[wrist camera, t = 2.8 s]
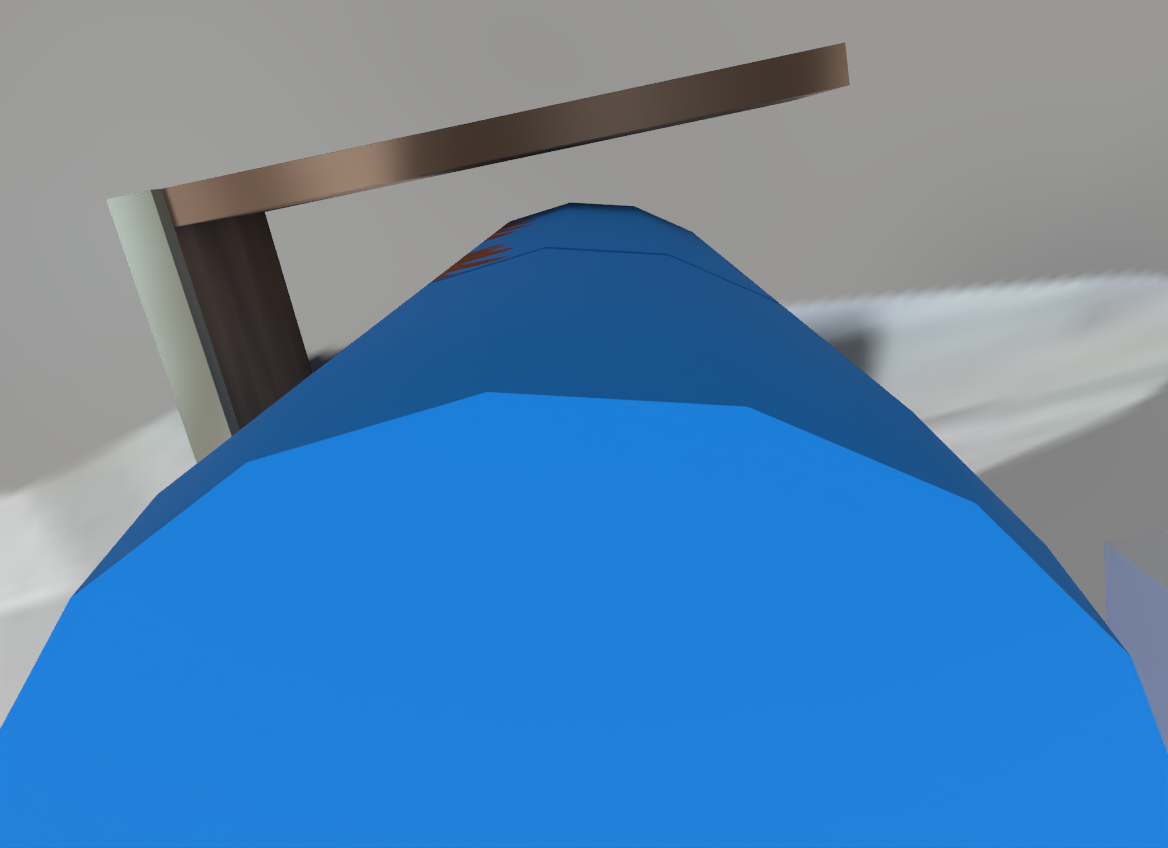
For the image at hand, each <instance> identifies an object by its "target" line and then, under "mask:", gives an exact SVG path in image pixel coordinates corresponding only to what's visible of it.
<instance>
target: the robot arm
mask: <svg viewBox="0 0 1168 848" xmlns="http://www.w3.org/2000/svg"><path fill="white" fill-rule="evenodd" d="M1104 553H1105V583H1106V584H1105V585H1106V613H1107V614H1106V615H1107V626H1108V627H1109V628H1110V630H1111V631H1112V632H1113V634H1114V635H1115V636H1116V638H1117V639H1118V640H1119V641H1120V643H1121V644H1122V645H1123V647H1124V648H1125V649H1126V651H1127V652H1128V653H1129V655H1130V656H1131V657H1132V659H1133V662H1134V665H1135V667H1136V670H1137V673H1138V675H1139V678H1140V681H1141V683H1142V686H1143V689H1144V691H1145V694H1146V697H1147V699H1148V702H1149V705H1150V707H1151V710H1152V713H1153V715H1154V718H1155V721H1156V723H1157V726H1158V729H1159V731H1160V734H1161V737H1162V739H1163V742H1164V745H1165V747H1166V750H1167V753H1168V530H1166V531H1160V532H1155V533H1149V534H1143V535H1138V536H1132V537H1127V538H1121V539H1115V540H1109V541H1104Z"/></svg>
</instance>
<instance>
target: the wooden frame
mask: <svg viewBox="0 0 1168 848" xmlns="http://www.w3.org/2000/svg"><path fill="white" fill-rule="evenodd" d="M847 85H849V75H848V66H847V57H846V47H845V43H841V44H836V45H832V46H827V47H823V48H818V49H813V50H809V51H804V52H799V53H794V54H790V55H785V56H780V57H776V58H771V59H766V60H762V61H757V62H752V63H748V64H743V65H738V66H734V67H729V68H725V69H720V70H715V71H710V72H706V73H701V74H697V75H692V76H687V77H682V78H678V79H673V80H669V81H664V82H659V83H654V84H650V85H645V86H641V87H636V88H631V89H627V90H622V91H617V92H613V93H608V94H603V95H598V96H594V97H589V98H584V99H580V100H575V101H570V102H566V103H561V104H556V105H552V106H547V107H542V108H538V109H533V110H528V111H524V112H519V113H514V114H510V115H505V116H500V117H495V118H491V119H486V120H481V121H477V122H472V123H468V124H463V125H458V126H454V127H449V128H444V129H439V130H435V131H430V132H425V133H421V134H416V135H411V136H407V137H402V138H397V139H393V140H389V141H384V142H379V143H374V144H370V145H365V146H360V147H356V148H351V149H346V150H341V151H337V152H332V153H327V154H323V155H318V156H313V157H309V158H304V159H299V160H295V161H290V162H286V163H281V164H276V165H271V166H267V167H262V168H258V169H253V170H248V171H243V172H239V173H234V174H229V175H225V176H220V177H215V178H211V179H206V180H202V181H197V182H192V183H187V184H183V185H178V186H173V187H169V188H164V189H157V190H148V191H143V192H138V193H134V194H129V195H125V196H120V197H115V198H110V199H106V200H107V203H108V206H109V209H110V212H111V215H112V218H113V221H114V224H115V227H116V229H117V232H118V235H119V238H120V241H121V244H122V247H123V249H124V253H125V256H126V258H127V261H128V264H129V267H130V270H131V273H132V276H133V278H134V282H135V285H136V287H137V290H138V293H139V296H140V299H141V302H142V305H143V308H144V311H145V314H146V316H147V320H148V322H149V325H150V328H151V331H152V334H153V337H154V340H155V342H156V345H157V348H158V351H159V354H160V357H161V360H162V363H163V366H164V369H165V371H166V375H167V377H168V381H169V383H170V386H171V389H172V392H173V395H174V398H175V401H176V404H177V407H178V410H179V412H180V415H181V418H182V421H183V424H184V427H185V430H186V433H187V436H188V439H189V442H190V444H191V447H192V450H193V453H194V456H195V459H196V462H197V463H199V462H200V461H201V460H202V459H204V458H205V457H206V456H208V455H209V454H210V453H211V452H213V451H214V450H215V449H216V448H218V447H219V446H220V445H222V444H223V443H224V442H225V441H227V440H228V439H229V438H231V437H232V436H233V435H234V434H236V433H237V432H238V431H239V430H241V429H242V428H243V427H245V426H246V425H247V424H248V423H250V422H251V421H252V420H254V419H255V418H256V417H257V416H259V415H260V414H261V413H262V412H264V411H265V410H266V409H268V408H269V407H270V406H271V405H273V404H274V403H275V402H277V401H278V400H279V399H280V398H282V397H283V396H284V395H285V394H287V393H288V392H289V391H291V390H292V389H293V388H294V387H296V386H297V385H298V384H300V383H301V382H302V381H303V380H305V379H306V378H307V377H309V376H310V375H311V374H312V371H311V367H310V364H309V360H308V357H307V354H306V350H305V347H304V344H303V340H302V337H301V334H300V330H299V327H298V323H297V320H296V317H295V313H294V310H293V306H292V303H291V300H290V296H289V293H288V289H287V286H286V283H285V279H284V276H283V273H282V269H281V266H280V262H279V259H278V256H277V252H276V249H275V246H274V242H273V239H272V235H271V232H270V229H269V225H268V222H267V218H266V215H265V212H266V211H270V210H276V209H280V208H285V207H290V206H295V205H299V204H304V203H309V202H314V201H318V200H323V199H328V198H333V197H337V196H342V195H347V194H352V193H356V192H361V191H366V190H370V189H375V188H380V187H384V186H390V185H394V184H399V183H404V182H409V181H413V180H418V179H423V178H428V177H432V176H437V175H442V174H447V173H451V172H456V171H461V170H465V169H470V168H475V167H480V166H484V165H489V164H494V163H499V162H504V161H508V160H513V159H518V158H523V157H527V156H532V155H537V154H541V153H546V152H551V151H556V150H560V149H565V148H570V147H575V146H580V145H584V144H589V143H594V142H599V141H603V140H608V139H613V138H617V137H622V136H627V135H631V134H637V133H641V132H646V131H651V130H655V129H660V128H665V127H670V126H675V125H679V124H684V123H689V122H694V121H698V120H703V119H708V118H713V117H717V116H722V115H727V114H732V113H736V112H741V111H746V110H750V109H755V108H760V107H765V106H769V105H774V104H779V103H784V102H789V101H792V100H797V99H800V98H804V97H807V96H811V95H814V94H818V93H822V92H825V91H829V90H833V89H836V88H840V87H844V86H847Z"/></svg>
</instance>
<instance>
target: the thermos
mask: <svg viewBox="0 0 1168 848" xmlns="http://www.w3.org/2000/svg"><path fill="white" fill-rule="evenodd" d="M0 848H1168V753H1167V750H1166V747H1165V745H1164V742H1163V739H1162V737H1161V734H1160V731H1159V729H1158V726H1157V723H1156V721H1155V718H1154V715H1153V713H1152V710H1151V707H1150V705H1149V702H1148V699H1147V697H1146V694H1145V691H1144V689H1143V686H1142V683H1141V681H1140V678H1139V675H1138V673H1137V670H1136V667H1135V665H1134V662H1133V659H1132V657H1131V656H1130V655H1129V653H1128V652H1127V651H1126V649H1125V648H1124V647H1123V645H1122V644H1121V643H1120V641H1119V640H1118V639H1117V638H1116V636H1115V635H1114V634H1113V632H1112V631H1111V630H1110V628H1109V627H1108V626H1107V625H1106V623H1105V622H1104V621H1103V619H1102V618H1101V617H1100V615H1099V614H1098V613H1097V612H1096V610H1095V609H1094V608H1093V606H1092V605H1091V604H1090V602H1089V601H1088V600H1087V598H1086V597H1085V596H1084V594H1083V593H1082V592H1081V591H1080V589H1079V588H1078V587H1077V585H1076V584H1075V583H1074V581H1073V580H1072V579H1071V577H1070V576H1069V575H1068V574H1067V573H1066V571H1065V570H1064V568H1063V567H1062V566H1061V565H1060V563H1059V562H1058V561H1057V559H1056V558H1055V557H1054V555H1053V554H1052V553H1051V551H1050V550H1049V549H1048V547H1047V546H1046V545H1045V544H1044V543H1043V542H1042V541H1041V540H1040V539H1039V538H1038V537H1037V536H1036V535H1035V534H1034V533H1033V532H1032V531H1031V530H1030V529H1029V528H1028V527H1027V526H1026V525H1025V524H1024V523H1023V522H1022V521H1021V520H1020V519H1019V518H1018V517H1017V516H1016V515H1015V514H1014V513H1013V512H1012V511H1011V510H1010V509H1009V508H1008V507H1007V506H1006V505H1005V504H1004V503H1003V502H1002V501H1001V500H1000V499H999V498H998V497H997V496H996V495H995V494H994V493H993V492H992V491H991V490H990V489H989V488H988V487H987V486H986V485H985V484H984V483H983V482H982V481H981V480H980V479H979V478H978V477H977V476H976V475H975V474H974V473H973V472H972V471H971V470H970V469H969V468H968V467H967V466H966V465H965V464H964V463H963V462H962V461H961V460H960V459H959V458H958V457H957V456H956V455H955V454H954V453H953V452H952V451H951V450H950V449H949V448H948V447H947V446H946V445H945V444H944V443H943V442H942V441H941V440H940V439H939V438H938V437H937V436H936V435H935V434H934V433H933V432H932V431H931V430H930V429H929V428H928V427H927V426H926V425H925V424H924V423H923V422H922V421H921V420H920V419H919V418H918V417H917V416H916V415H915V414H914V413H913V412H912V411H911V410H910V409H908V408H907V407H906V406H905V405H903V404H902V403H901V402H900V401H899V400H897V399H896V398H895V397H894V396H892V395H891V394H890V393H889V392H887V391H886V390H885V389H884V388H883V387H881V386H880V385H879V384H878V383H876V382H875V381H874V380H873V379H872V378H870V377H869V376H868V375H867V374H865V373H864V372H863V371H862V370H861V369H859V368H858V367H857V366H856V365H854V364H853V363H852V362H851V361H849V360H848V359H847V358H846V357H845V356H843V355H842V354H841V353H840V352H838V351H837V350H836V349H835V348H834V347H832V346H831V345H830V344H829V343H827V342H826V341H825V340H824V339H823V338H821V337H820V336H819V335H818V334H816V333H815V332H814V331H813V330H811V329H810V328H809V327H808V326H807V325H805V324H804V323H803V322H802V321H800V320H799V319H798V318H797V317H796V316H794V315H793V314H792V313H791V312H789V311H788V310H787V309H786V308H785V307H783V306H782V305H781V304H779V303H778V302H777V301H776V300H775V299H773V298H772V297H771V296H770V295H768V294H767V293H766V292H765V291H764V290H762V289H761V288H760V287H759V286H758V285H756V284H755V283H754V282H753V281H751V280H750V279H749V278H748V277H747V276H745V275H744V274H743V273H742V272H740V271H739V270H738V269H737V268H735V267H734V266H733V265H732V264H730V263H729V262H728V261H727V260H726V259H724V258H723V257H722V256H721V255H719V254H718V253H717V252H716V251H715V250H713V249H712V248H711V247H710V246H708V245H707V244H706V243H705V242H704V241H702V240H701V239H700V238H699V237H697V236H696V235H695V234H694V233H693V232H691V231H688V230H686V229H684V228H682V227H680V226H677V225H675V224H673V223H671V222H668V221H666V220H664V219H662V218H659V217H657V216H655V215H652V214H650V213H648V212H646V211H643V210H641V209H639V208H637V207H634V206H620V205H602V204H584V203H568V204H565V205H561V206H558V207H555V208H552V209H548V210H545V211H542V212H539V213H536V214H532V215H529V216H526V217H523V218H520V219H517V220H513V221H511V222H509V223H507V224H506V225H505V226H503V227H502V228H501V229H500V230H498V231H497V232H496V233H494V234H493V235H492V236H491V237H489V238H488V239H487V240H485V241H484V242H483V243H481V244H480V245H479V246H478V247H476V248H475V249H474V250H472V251H471V252H470V253H468V254H467V255H466V256H464V257H463V258H462V259H461V260H459V261H458V262H457V263H455V264H454V265H453V266H451V267H450V268H449V269H448V270H446V271H445V272H444V273H443V274H441V275H440V276H438V277H437V278H436V279H435V280H433V281H432V282H431V283H429V284H428V285H427V286H425V287H424V288H423V289H422V290H420V291H419V292H418V293H416V294H415V295H414V296H412V297H411V298H410V299H409V300H407V301H406V302H405V303H403V304H402V305H401V306H399V307H398V308H397V309H396V310H394V311H393V312H392V313H390V314H389V315H388V316H387V317H385V318H384V319H383V320H381V321H380V322H379V323H377V324H376V325H375V326H374V327H372V328H371V329H370V330H368V331H367V332H366V333H364V334H363V335H362V336H361V337H359V338H358V339H357V340H355V341H354V342H353V343H351V344H350V345H349V346H348V347H346V348H345V349H344V350H342V351H341V352H340V353H338V354H337V355H336V356H335V357H333V358H332V359H331V360H329V361H328V362H327V363H325V364H324V365H323V366H322V367H320V368H319V369H318V370H316V371H315V372H314V373H312V374H311V375H310V376H309V377H307V378H306V379H305V380H303V381H302V382H301V383H300V384H298V385H297V386H296V387H294V388H293V389H292V390H291V391H289V392H288V393H287V394H285V395H284V396H283V397H282V398H280V399H279V400H278V401H277V402H275V403H274V404H273V405H271V406H270V407H269V408H268V409H266V410H265V411H264V412H262V413H261V414H260V415H259V416H257V417H256V418H255V419H254V420H252V421H251V422H250V423H248V424H247V425H246V426H245V427H243V428H242V429H241V430H239V431H238V432H237V433H236V434H234V435H233V436H232V437H231V438H229V439H228V440H227V441H225V442H224V443H223V444H222V445H220V446H219V447H218V448H216V449H215V450H214V451H213V452H211V453H210V454H209V455H208V456H206V457H205V458H204V459H202V460H201V461H200V462H199V463H197V464H196V465H195V466H193V467H192V468H191V469H190V470H188V471H187V472H186V473H184V474H183V475H182V476H181V477H179V478H178V479H177V480H176V481H174V482H173V483H172V484H170V485H169V486H168V487H167V488H165V489H164V490H163V491H161V492H160V493H159V494H158V495H157V496H156V497H155V498H154V499H153V500H152V502H151V503H150V504H149V505H148V506H147V508H146V509H145V510H144V511H143V512H142V514H141V515H140V516H139V517H138V518H137V519H136V521H135V522H134V523H133V524H132V525H131V527H130V528H129V529H128V530H127V531H126V533H125V534H124V535H123V536H122V537H121V539H120V540H119V541H118V542H117V543H116V545H115V546H114V547H113V548H112V549H111V551H110V552H109V553H108V554H107V555H106V557H105V558H104V559H103V560H102V561H101V562H100V564H99V565H98V566H97V567H96V568H95V570H94V571H93V572H92V573H91V574H90V576H89V577H88V578H87V579H86V580H85V582H84V583H83V584H82V585H81V586H80V588H79V589H78V590H77V591H76V592H75V594H74V595H73V596H72V597H71V598H70V600H69V602H68V604H67V606H66V608H65V609H64V611H63V613H62V615H61V617H60V619H59V621H58V622H57V624H56V626H55V628H54V630H53V632H52V634H51V636H50V637H49V639H48V641H47V643H46V645H45V647H44V649H43V650H42V652H41V654H40V656H39V658H38V660H37V662H36V664H35V665H34V667H33V669H32V671H31V673H30V675H29V677H28V678H27V680H26V682H25V684H24V686H23V688H22V690H21V692H20V693H19V695H18V697H17V699H16V701H15V703H14V705H13V706H12V708H11V710H10V712H9V714H8V716H7V718H6V720H5V721H4V723H3V725H2V727H1V729H0Z"/></svg>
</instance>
